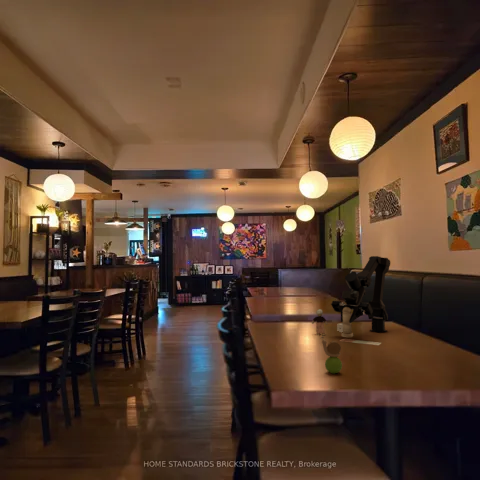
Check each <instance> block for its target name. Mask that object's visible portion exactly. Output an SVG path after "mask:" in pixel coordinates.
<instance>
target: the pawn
mask: <svg viewBox="0 0 480 480" xmlns="http://www.w3.org/2000/svg"><path fill="white" fill-rule="evenodd" d="M351 315H352V310H351V309H350V308H349V307H345V308H343V322H342V323H343V333H342V332H340V333H341V337H343V338H353V337H354V333H353V332H352V322H351V323H350V322H349V320H350V317H351Z"/></svg>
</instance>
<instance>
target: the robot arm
mask: <svg viewBox="0 0 480 480" xmlns="http://www.w3.org/2000/svg"><path fill="white" fill-rule="evenodd" d="M390 267H391V260H390V259H389V257H382V256H379V255H375V256H374V255H372V256H369V258H368V261H367V262H366V264H365V266H364V268H363V269H362V270H361V271H360V272H358V273H357V272H356V271H351V272H350V273H347V275H345V277H344V280H345V282H346V284H347V286H348V287H349V289H350V290H351V291H350V290H343V291H342V293H341V294H342V296H341V299H343V300H344V302H341V300H332V301H331V303H330V305H331V307H332V309H333V311H334V312H335V313H340V322H341V323H343V308H345V307H349V308H350V309H351V311H352V312H351V317H350V320H349V322H350V323H351V324H352V323H353V322H355V320H357V319H359V318H360V317H362V316H364V315H366V316H368V319H369V320H371V329H369V332H373V333H374V332H375V333H385V332H388V330H386V327H385V324H386V323H385V322H386V321H388V319H389V314H388V313H387V310H386V305H385V304H384V302H383V300H384V299H383V298H384V287H385V281H386V280H385V278H386V274H387V273H388V272H389V270H390ZM374 272H375V276H374V285H373V294H372V299H371V301H370V300H369V301H368V302H363V297H364V296H366V295H367V292H366V289H365V288H369V287H370V285H372V276H373V274H374Z"/></svg>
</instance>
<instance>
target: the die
mask: <svg viewBox="0 0 480 480" xmlns="http://www.w3.org/2000/svg"><path fill="white" fill-rule="evenodd" d="M336 331H339V332H338V333H342V332H343V322H341V323H337V324H336Z"/></svg>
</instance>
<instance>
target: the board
mask: <svg viewBox="0 0 480 480" xmlns="http://www.w3.org/2000/svg"><path fill="white" fill-rule="evenodd" d="M339 342H347V343H355V344H364V345H374V346H380V345H381V344H382V342H377V341H376V342H375V341H368V340H359V339H358V340H357V339H350V338H349V339H348V338H342V339H340V340H339Z"/></svg>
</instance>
